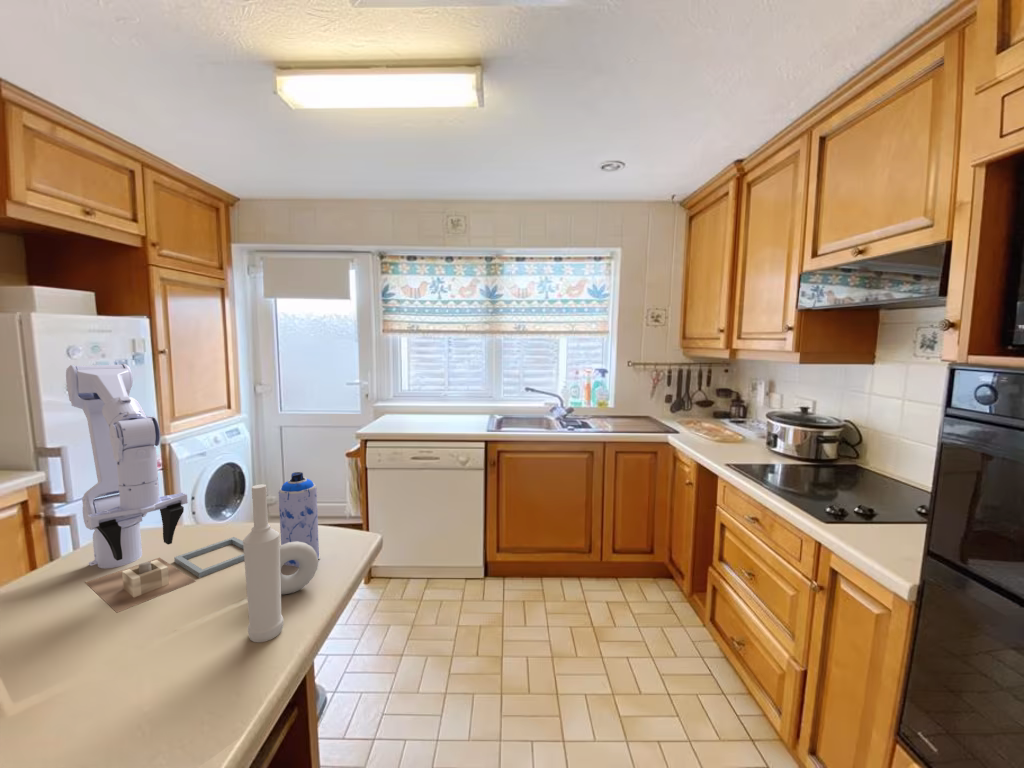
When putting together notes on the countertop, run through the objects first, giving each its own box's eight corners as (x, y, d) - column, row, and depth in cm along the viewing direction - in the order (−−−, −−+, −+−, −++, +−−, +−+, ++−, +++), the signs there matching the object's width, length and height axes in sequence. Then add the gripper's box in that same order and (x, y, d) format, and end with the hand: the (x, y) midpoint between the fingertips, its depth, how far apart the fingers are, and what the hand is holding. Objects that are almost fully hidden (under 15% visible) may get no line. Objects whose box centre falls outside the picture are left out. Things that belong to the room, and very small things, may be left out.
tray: (174, 566, 93) (174, 557, 93) (234, 544, 103) (234, 536, 103) (199, 582, 87) (199, 572, 87) (260, 558, 97) (260, 549, 97)
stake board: (85, 587, 85) (83, 560, 85) (159, 561, 95) (158, 537, 95) (117, 617, 75) (114, 588, 75) (196, 586, 85) (194, 559, 85)
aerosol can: (327, 555, 98) (324, 469, 96) (302, 572, 91) (298, 480, 89) (299, 551, 100) (295, 467, 99) (272, 567, 93) (267, 477, 91)
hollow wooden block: (123, 588, 83) (122, 571, 82) (158, 576, 87) (156, 559, 87) (133, 597, 80) (132, 579, 80) (169, 584, 84) (167, 566, 84)
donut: (263, 605, 79) (260, 553, 78) (260, 597, 82) (258, 546, 81) (321, 587, 85) (319, 539, 84) (316, 580, 88) (315, 532, 87)
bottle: (246, 647, 68) (238, 493, 66) (249, 628, 73) (241, 484, 71) (283, 637, 70) (276, 488, 68) (283, 619, 75) (277, 479, 73)
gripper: (93, 496, 74) (100, 572, 75) (192, 475, 86) (196, 541, 87) (81, 489, 77) (87, 561, 78) (177, 470, 90) (181, 533, 91)
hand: (143, 550), depth 83 cm, fingers open, 7 cm apart
